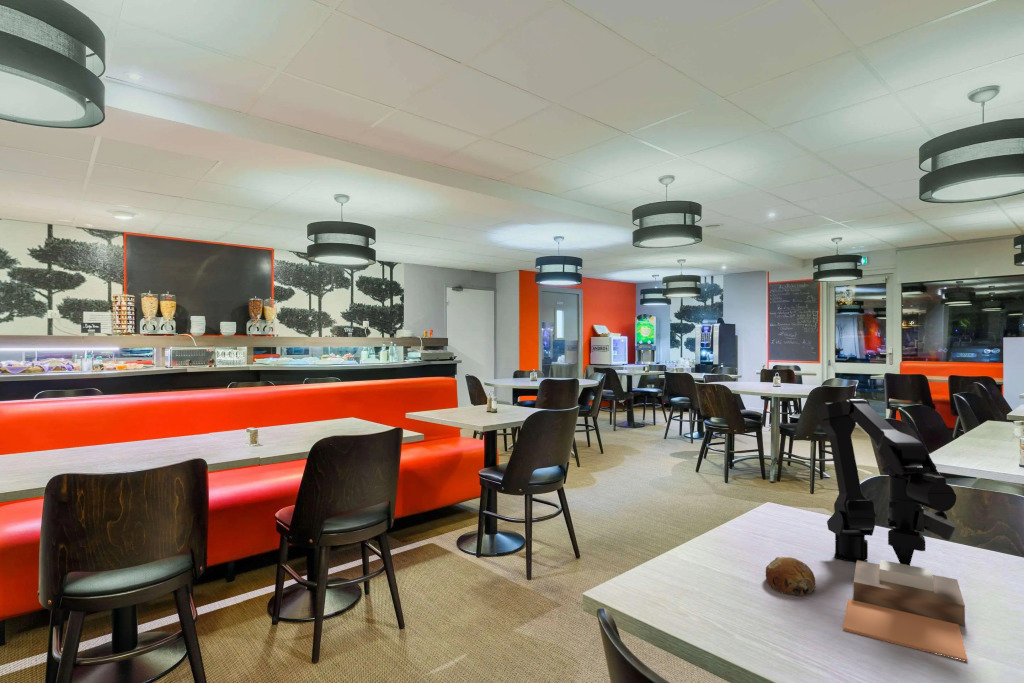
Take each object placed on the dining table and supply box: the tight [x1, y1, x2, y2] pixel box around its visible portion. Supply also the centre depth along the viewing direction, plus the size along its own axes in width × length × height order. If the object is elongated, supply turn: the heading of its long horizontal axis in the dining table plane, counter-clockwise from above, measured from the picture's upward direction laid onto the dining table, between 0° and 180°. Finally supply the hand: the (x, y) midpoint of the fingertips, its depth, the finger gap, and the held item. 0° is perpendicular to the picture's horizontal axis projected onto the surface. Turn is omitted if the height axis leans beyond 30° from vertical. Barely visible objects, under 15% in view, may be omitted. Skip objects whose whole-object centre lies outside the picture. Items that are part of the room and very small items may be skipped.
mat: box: [842, 598, 969, 662], centre depth 102 cm, size 18×14×1 cm
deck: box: [853, 560, 966, 627], centre depth 113 cm, size 18×14×4 cm
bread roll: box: [765, 556, 816, 597], centre depth 120 cm, size 10×10×8 cm
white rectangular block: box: [879, 559, 934, 591], centre depth 113 cm, size 9×6×2 cm, turn 55°
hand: (905, 569), depth 117 cm, fingers closed
